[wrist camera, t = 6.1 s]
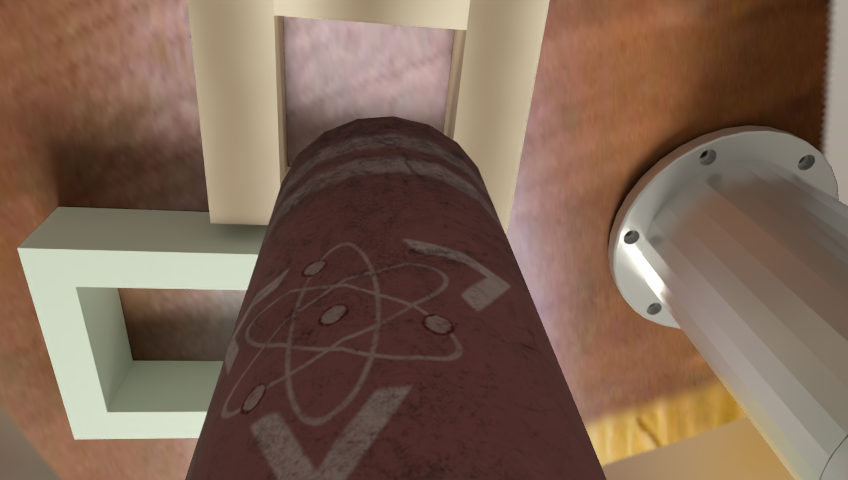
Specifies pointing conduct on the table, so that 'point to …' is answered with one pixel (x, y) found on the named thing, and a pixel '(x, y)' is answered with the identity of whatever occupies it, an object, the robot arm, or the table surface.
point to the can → (389, 330)
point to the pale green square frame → (103, 317)
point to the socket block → (373, 3)
